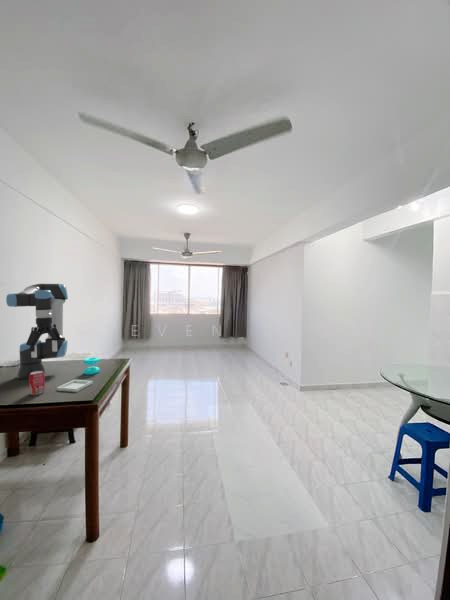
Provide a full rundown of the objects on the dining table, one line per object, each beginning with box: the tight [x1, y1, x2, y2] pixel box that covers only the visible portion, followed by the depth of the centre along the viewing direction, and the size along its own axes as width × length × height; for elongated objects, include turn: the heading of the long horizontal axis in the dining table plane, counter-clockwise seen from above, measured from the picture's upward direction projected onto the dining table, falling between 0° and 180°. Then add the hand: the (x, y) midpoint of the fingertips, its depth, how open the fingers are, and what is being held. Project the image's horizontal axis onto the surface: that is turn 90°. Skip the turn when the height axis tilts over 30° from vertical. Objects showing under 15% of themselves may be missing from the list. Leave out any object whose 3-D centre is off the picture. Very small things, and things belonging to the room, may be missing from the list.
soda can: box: [28, 371, 46, 396], centre depth 140 cm, size 7×7×12 cm
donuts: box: [82, 356, 101, 376], centre depth 176 cm, size 10×10×10 cm
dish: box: [56, 379, 94, 393], centre depth 150 cm, size 13×13×2 cm
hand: (44, 354), depth 143 cm, fingers open, 13 cm apart
